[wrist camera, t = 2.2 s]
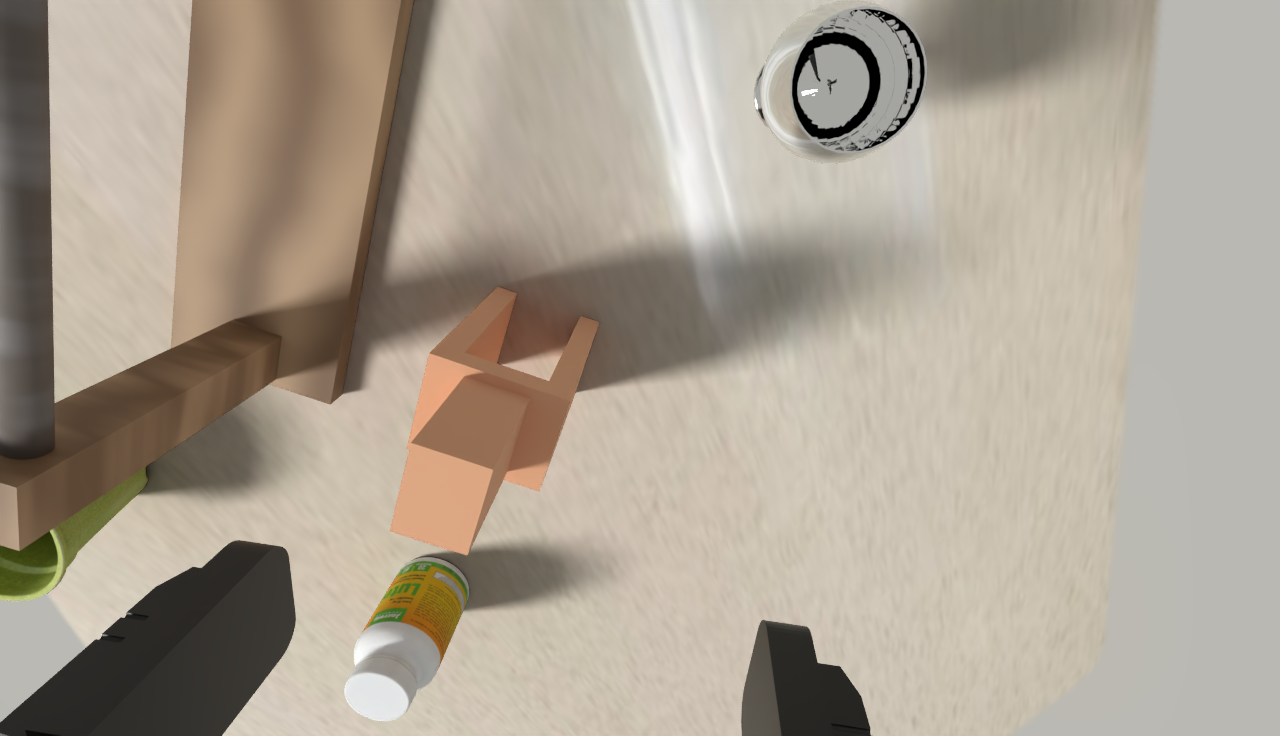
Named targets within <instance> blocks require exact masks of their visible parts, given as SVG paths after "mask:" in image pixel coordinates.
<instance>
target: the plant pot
mask: <svg viewBox="0 0 1280 736" xmlns="http://www.w3.org/2000/svg"><path fill="white" fill-rule="evenodd" d="M147 480H148V478H147V476H146V467H144V468H143V469H141V470H140V471H138V472H137V473H135V474H134V475H132V476H131V477H129V478H128V479H126V480H125V481H123V482H122V483H121V484H119V485H118V486H116V487H115V488H113V489H112V490H110V491H109V492H107V493H106V494H104V495H103V496H101V497H100V498H98V499H97V500H95V501H94V502H92V503H91V504H89V505H88V506H86V507H85V508H83V509H82V510H80V511H79V512H77V513H76V514H74V515H73V516H71V517H70V518H68V519H67V520H65V521H64V522H62V523H61V524H59V525H58V526H56V527H55V528H53V529H52V530H50V531H49V532H47V533H46V534H44V535H43V536H41V537H40V538H38V539H37V540H35V541H34V542H32V543H31V544H29V545H28V546H26V547H25V548H23V549H22V550H20V551H18V550H14V549H11V548H8V547H4V546H1V545H0V600H7V601H26V600H31V599H36V598H39V597H41V596H43V595H45V594H47V593H49V592H50V591H51V590H53V589H54V588H55V587H56V586H57V585H58V584H59V583H60V581H61V580H62V578H63V576H64V574H65V572H66V568H67V567H68V566H69V565H70V564H71V563H72V561H73V560H74V559H75V557H76V555H77V552H78V551H79V550H80V549H81V548H82V547H83V546H84V545H85V544H86V543H87V542H88V541H89V540H90V539H91V538H92V537H93V536H94V535H95V534H96V533H97V532H98V531H99V530H101V529H102V528H103V527H104V526H105V525H106V524H107V523H108V522H109V521H110V520H111V519H112V518H113V517H114V516H115V515H116V514H117V513H118V512H119V511H120V510H121V509H122V508H124V507H125V506H126V505H127V504H128V503H129V502H130V501H131V500H132V499H133V498H134V497H135V496H136V495H137V494H138V493H139V492H140V491H141V490H142V489H143V488H144V487H145V485H146V483H147Z"/></svg>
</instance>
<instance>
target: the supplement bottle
mask: <svg viewBox="0 0 1280 736" xmlns="http://www.w3.org/2000/svg"><path fill="white" fill-rule="evenodd" d="M468 597H469V586H468V582H467V580H466V578H465V576H464V575H463V574H462V572H461V571H460V570H459V569H458V568H456V567H455V566H454V565H452V564H450V563H449V562H447V561H444V560H441V559H438V558H433V557H423V558H418V559H414V560H412V561H410V562H409V563H407V564H406V565H405V566H404V567H403V568H402V569H401V570H400V571H399V573H398V574H397V576H396V578H395V579H394V581H393V582H392V584H391V586H390V587H389V589H388V591H387V592H386V594H385V596H384V597H383V599H382V601H381V602H380V604H379V605H378V607H377V609H376V610H375V612H374V614H373V615H372V617H371V619H370V620H369V622H368V624H367V625H366V627H365V629H364V630H363V632H362V634H361V635H360V637H359V639H358V641H357V643H356V646H355V649H354V662H355V665H356V667H355V668H354V670H353V672H352V673H351V675H350V677H349V679H348V680H347V682H346V685H345V689H344V693H345V697H346V700H347V702H348V704H349V705H350V706H351V707H352V708H353V709H354V710H355V711H356V712H358V713H359V714H361V715H362V716H365V717H367V718H370V719H373V720H378V721H390V720H395V719H397V718H399V717H401V716H403V715H404V714H405V713H406V712H407V710H408V708H409V706H410V704H411V702H412V700H413V698H414V697H415V695H416V691H418V690H420V689H422V688H423V687H425V686H426V685H427V684H428V683H429V682H430V681H431V680H432V679H433V678H434V676H435V674H436V672H437V670H438V668H439V666H440V664H441V661H442V659H443V657H444V654H445V652H446V650H447V647H448V645H449V643H450V640H451V638H452V636H453V633H454V631H455V629H456V626H457V624H458V622H459V619H460V617H461V615H462V613H463V610H464V608H465V606H466V603H467V601H468Z"/></svg>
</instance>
